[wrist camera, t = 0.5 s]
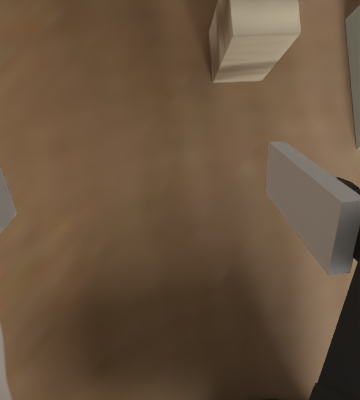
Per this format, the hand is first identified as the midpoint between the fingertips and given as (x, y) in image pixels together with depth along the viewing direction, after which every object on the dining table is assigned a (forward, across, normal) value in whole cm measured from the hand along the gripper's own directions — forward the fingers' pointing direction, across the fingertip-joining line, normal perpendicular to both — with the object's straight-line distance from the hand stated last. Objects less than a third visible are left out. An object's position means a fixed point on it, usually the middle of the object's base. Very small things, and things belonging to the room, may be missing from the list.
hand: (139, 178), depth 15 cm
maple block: (+25, -11, -4) cm, 28 cm away
